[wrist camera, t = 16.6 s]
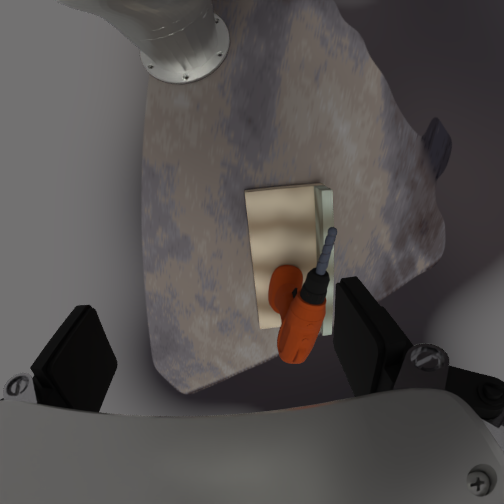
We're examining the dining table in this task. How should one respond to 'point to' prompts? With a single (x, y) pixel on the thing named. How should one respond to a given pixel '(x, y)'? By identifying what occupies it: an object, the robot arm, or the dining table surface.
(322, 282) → the toy drill
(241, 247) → the dining table surface
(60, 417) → the robot arm
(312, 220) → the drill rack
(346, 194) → the dining table surface
